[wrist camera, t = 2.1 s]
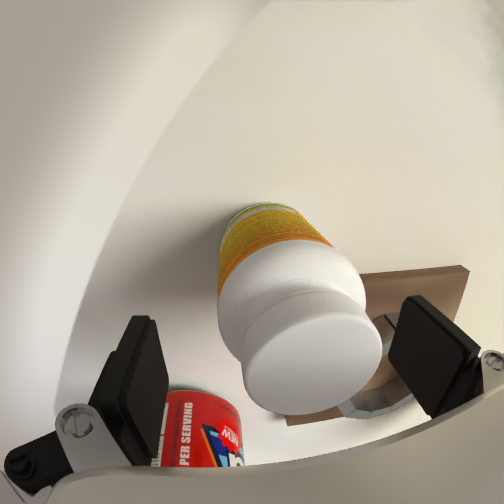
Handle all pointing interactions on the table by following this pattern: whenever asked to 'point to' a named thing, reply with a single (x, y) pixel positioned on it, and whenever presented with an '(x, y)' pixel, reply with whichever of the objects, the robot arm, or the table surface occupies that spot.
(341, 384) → the supplement bottle
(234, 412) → the soda can
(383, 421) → the table surface
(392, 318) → the steel ring
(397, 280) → the base plate
